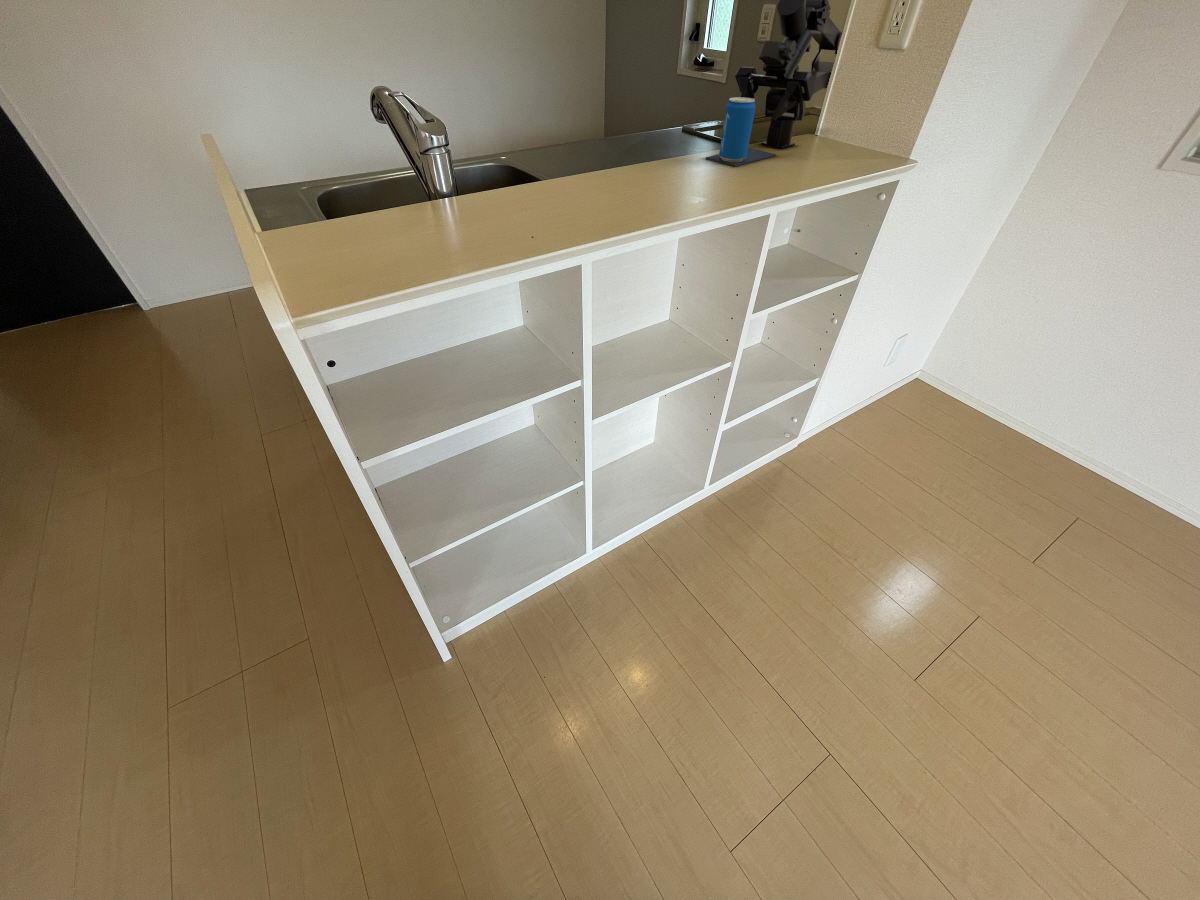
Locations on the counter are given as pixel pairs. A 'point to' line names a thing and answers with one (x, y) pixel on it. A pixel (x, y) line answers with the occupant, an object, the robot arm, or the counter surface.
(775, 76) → the robot arm
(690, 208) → the counter surface
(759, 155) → the mat
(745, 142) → the beverage can
